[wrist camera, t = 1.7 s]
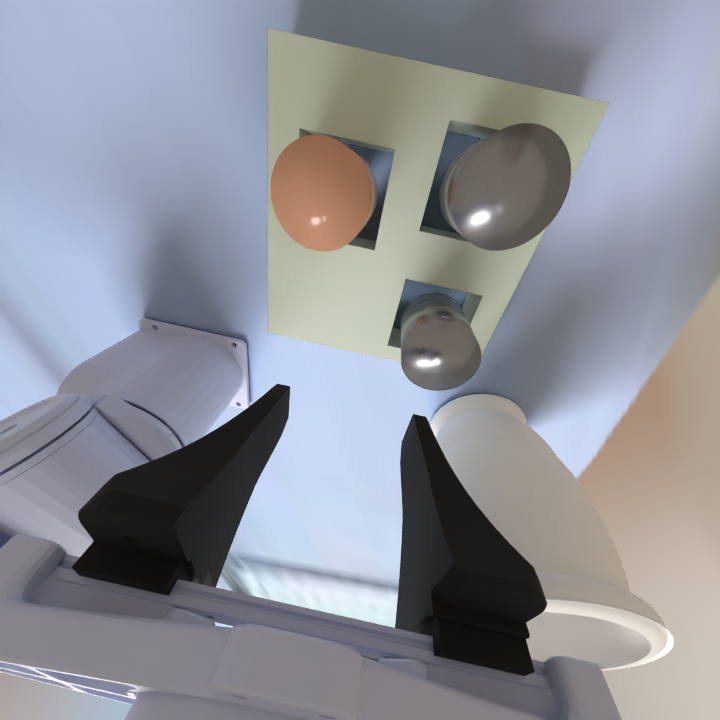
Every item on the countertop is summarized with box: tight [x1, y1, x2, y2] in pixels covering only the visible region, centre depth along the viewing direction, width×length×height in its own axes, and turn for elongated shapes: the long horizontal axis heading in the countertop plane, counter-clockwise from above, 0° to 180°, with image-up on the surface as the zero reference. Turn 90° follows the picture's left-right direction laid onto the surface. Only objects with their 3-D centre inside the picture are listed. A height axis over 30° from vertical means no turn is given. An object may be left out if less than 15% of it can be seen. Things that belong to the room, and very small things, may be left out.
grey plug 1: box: [401, 293, 481, 391], centre depth 16 cm, size 4×4×4 cm
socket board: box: [267, 28, 609, 362], centre depth 17 cm, size 15×15×3 cm
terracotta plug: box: [270, 135, 377, 252], centre depth 13 cm, size 4×4×4 cm
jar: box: [430, 394, 674, 671], centre depth 20 cm, size 11×10×15 cm
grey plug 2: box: [439, 123, 571, 251], centre depth 12 cm, size 4×4×4 cm
